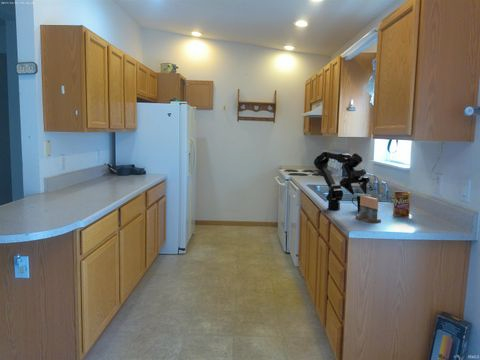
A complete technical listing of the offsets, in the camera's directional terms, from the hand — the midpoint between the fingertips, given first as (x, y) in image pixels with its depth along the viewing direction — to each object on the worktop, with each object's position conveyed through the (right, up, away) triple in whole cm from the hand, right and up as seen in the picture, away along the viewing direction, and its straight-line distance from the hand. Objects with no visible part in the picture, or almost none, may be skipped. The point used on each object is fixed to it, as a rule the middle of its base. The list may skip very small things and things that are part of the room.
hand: (359, 194), depth 227 cm
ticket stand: (+3, -15, -6) cm, 16 cm away
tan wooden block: (+3, -7, -7) cm, 10 cm away
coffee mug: (+7, -12, +21) cm, 25 cm away
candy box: (+27, -14, +6) cm, 31 cm away
